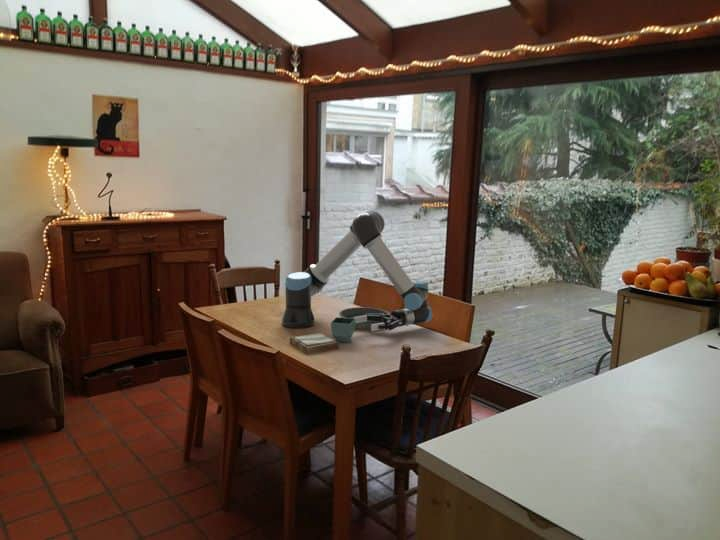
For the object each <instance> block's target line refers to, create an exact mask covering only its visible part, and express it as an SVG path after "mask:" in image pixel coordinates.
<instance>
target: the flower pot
mask: <svg viewBox="0 0 720 540" xmlns="http://www.w3.org/2000/svg"><path fill="white" fill-rule="evenodd" d="M355 320H356V319H352V318H341V317H340V316H339V317H337V316H336V317H335V318H334V319H332V321H330V328H331V334H332V337H333V340H334V341H336V342H338V343H349V341H350V340H351V339H352V337H353V335H354V333H355Z"/></svg>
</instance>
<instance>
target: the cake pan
mask: <svg viewBox="0 0 720 540" xmlns="http://www.w3.org/2000/svg"><path fill="white" fill-rule="evenodd" d="M380 313H386V315H387V314H390V315H391V313H390V311H387V310H385V309H381V308H378V307H377V308H376V307H367V306H365V307H363V306H362V307H360V306H359V307H349V308H345V309H343V310H340V311H339V312H338V316H339V318H352V319H354V317H358V316H364V314H380ZM382 321H383V319H382ZM378 323H381V322H380V321H367V322H360V323H355V328H356V329H371V324H378ZM384 324H385V323H384Z"/></svg>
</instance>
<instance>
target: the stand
mask: <svg viewBox="0 0 720 540" xmlns="http://www.w3.org/2000/svg"><path fill="white" fill-rule="evenodd" d="M289 344H291V345H292V344H293V346H294V345H295V346H294V347H296V348H297V347H298V348H297V349H299V348H300V349H299V350H300V351H302V350H303V351H302V352H304V351H305V352H307V353H311V354H314V353H313V352H316V353H321V352H320V351H322V352H327V351H331V350H337V349H339V342H336V341H335V339H334V338H333V339H332V338H330V337H328V336H327V335H325V334H323V333H321V332H314V333H310V334H309V333H308V334H302V335H301V334H300V335H296V336H290V337H289ZM326 350H327V351H326ZM305 352H304V353H305ZM307 353H306V354H307Z"/></svg>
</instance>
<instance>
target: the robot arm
mask: <svg viewBox="0 0 720 540" xmlns="http://www.w3.org/2000/svg"><path fill="white" fill-rule="evenodd" d="M385 224H386V223H385V219H384V217H383V216H382V214H381V213H380V212H378V211H375V210H367V211H366V212H361V213H359V214H357V215H356V216H355V217H354V219H353V220H352V224H351V225H349V231H348V232H347V233H346V235H345V236H343V237H342V238H341V239H340V240H339V241H338V242H337V243H336V244H335V245H334V246H333V247H332V248H331V249H330V250H329V251H328V252H327V253H326V254H325V255H324V256H323V257H322V258H321V259H320V260H319V261H318V262H317V263H316V264H314V263H312V264H310V265H309V266H308V267H307V268H306V269H305V270H304V271H296V272H292V273H290V274H288V275H287V276H286V278H285V283H284V286H285V310H284V312H283V315H282V319H281V325H282V326H283V327H286V328H290V329H307V328H311V327H313V326H314V325H315V322H316V320H315V316H314V313H313V309H312V297H313V296H316V294H317V295H318V294H319V293H320V292H321V291H322V290H323V288H324V287H325V286H326V284H327V285H328V283H329V280H330V278H329V277H331V275H333V274H334V273H335V272H336V270H338V269H339V268H340V267H341V266H342V265H343V264H344V263H345V262H346V261H347V260H348V259H349V258H350V257H352V255H353V254H354V253H355V252H357V251H358V249H360V248H361V247H362V248H364V249H366V250H367V251H368V252H369V253H370V255H371V256H372V258H374V261H375V262H376V264H378V267H380V269H381V270H382V272H383V273H384V274H385V275H386V277H387V279H388V280H389V281H390V282H391V284H392V285H393V287H394V289H395V290H396V291H397V293H398V294H399V295H400V296H401V298H402V299H403V304H404V307H405V308H402V309H401V308H400V309H394V310H392V312H391V313H390V314H391V315H390V314H387V315H386V313H380V314H364V316H358V317H354V319H356V320H355V323H360V322H367V321H380V322H381V323H378V324H371V328H370V331H371V332H375V331H382V330H388V331H392V330H394V329H396V328H400V327H404V326H405V327H408V326H411V325H417V324H424V323H427V322H429V321H431V320H432V319H433V315H434V313H433V310H432V308H431V307H430V306H428V301H429V290H430V289H429V283H428V282H427V281H425V280H414V281H412V280H411V278H410V277H409V276H408V274H407V273H406V271H405V270H404V268H403V267H402V266H401V265H400V263H399V261H398V260H397V259H396V257H395V256H394V254H393V253H392V251H391V250H390V249H389V248H388V246H387V245H386V243H385V242H384V241H383V239H382V232H383V231H384V228H385ZM382 319H383V321H382ZM384 323H385V324H384Z"/></svg>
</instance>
